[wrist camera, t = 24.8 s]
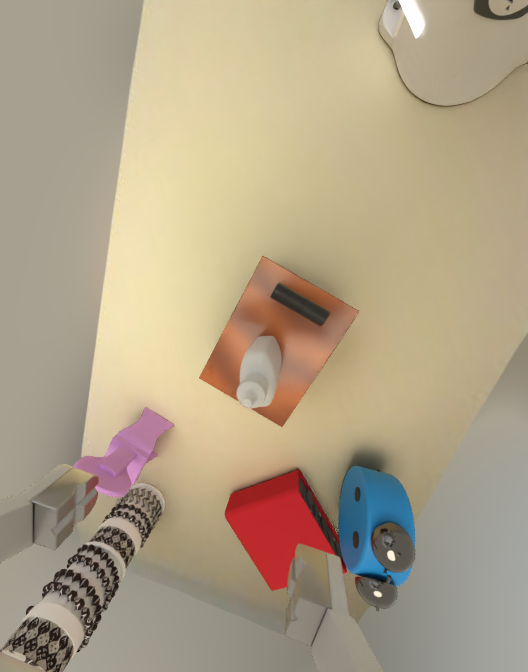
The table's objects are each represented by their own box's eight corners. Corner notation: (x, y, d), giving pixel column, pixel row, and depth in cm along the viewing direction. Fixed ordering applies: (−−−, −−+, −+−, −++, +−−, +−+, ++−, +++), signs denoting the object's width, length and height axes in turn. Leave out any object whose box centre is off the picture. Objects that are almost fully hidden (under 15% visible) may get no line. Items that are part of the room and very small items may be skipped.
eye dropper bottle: (242, 368, 31) (207, 419, 19) (261, 329, 30) (235, 358, 18) (274, 384, 31) (257, 444, 19) (294, 345, 29) (289, 385, 18)
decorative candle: (154, 526, 52) (25, 739, 28) (118, 500, 52) (-41, 691, 28) (175, 500, 50) (55, 707, 25) (138, 473, 49) (-18, 654, 25)
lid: (263, 256, 29) (256, 250, 24) (358, 310, 28) (370, 316, 23) (201, 375, 33) (184, 391, 28) (282, 423, 33) (279, 448, 28)
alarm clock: (367, 517, 44) (399, 633, 29) (332, 507, 44) (347, 616, 30) (389, 456, 41) (438, 552, 26) (352, 446, 41) (379, 534, 27)
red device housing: (342, 544, 46) (347, 575, 41) (275, 562, 49) (273, 593, 44) (298, 467, 44) (297, 490, 39) (231, 491, 47) (223, 515, 42)
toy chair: (124, 438, 48) (48, 505, 34) (141, 404, 46) (66, 460, 31) (160, 460, 48) (99, 537, 33) (178, 427, 46) (121, 494, 31)
